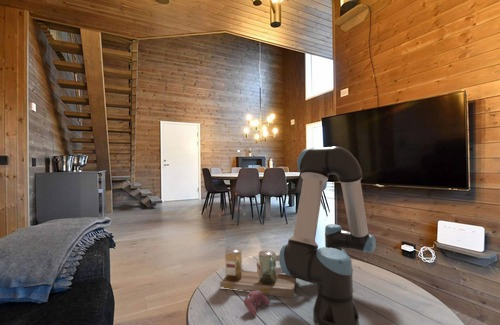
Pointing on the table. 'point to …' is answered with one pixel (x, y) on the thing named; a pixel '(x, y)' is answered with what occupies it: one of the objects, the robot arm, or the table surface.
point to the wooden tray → (252, 283)
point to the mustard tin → (233, 264)
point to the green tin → (266, 267)
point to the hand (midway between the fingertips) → (271, 264)
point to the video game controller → (256, 297)
